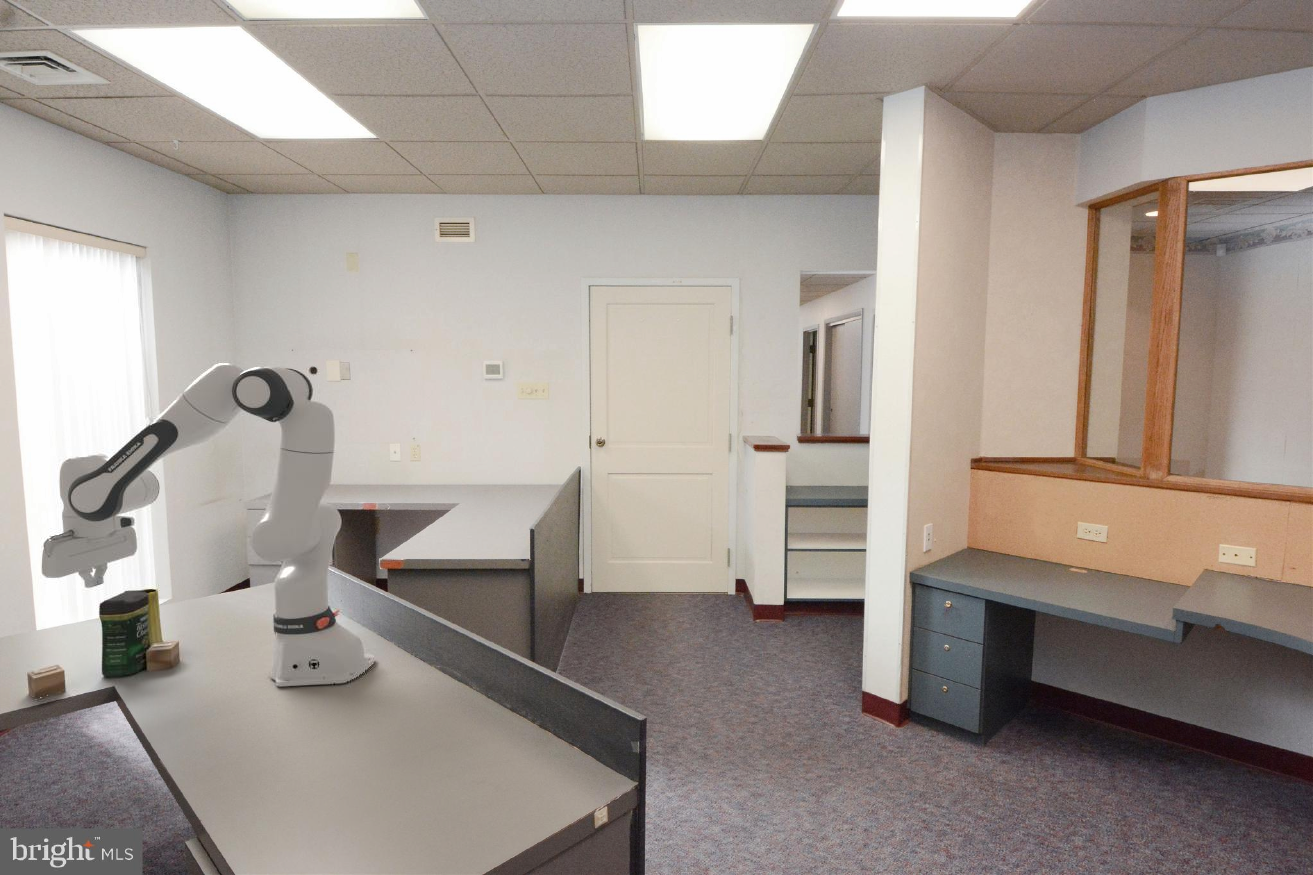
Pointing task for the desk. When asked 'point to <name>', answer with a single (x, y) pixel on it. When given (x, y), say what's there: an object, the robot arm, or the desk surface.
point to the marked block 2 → (162, 656)
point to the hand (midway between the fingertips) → (94, 585)
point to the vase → (154, 617)
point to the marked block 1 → (46, 681)
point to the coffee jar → (124, 633)
